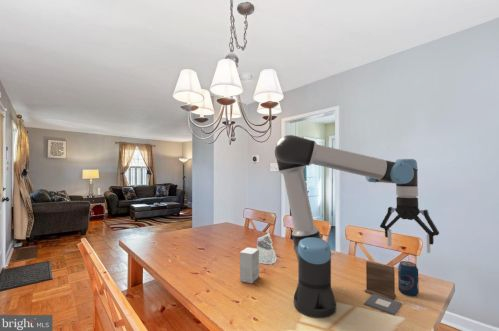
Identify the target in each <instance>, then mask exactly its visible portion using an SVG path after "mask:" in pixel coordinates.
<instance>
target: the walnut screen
mask: <svg viewBox="0 0 499 331" xmlns="http://www.w3.org/2000/svg"><path fill="white" fill-rule="evenodd" d="M365 262H366V263H365V265H366V266H365V267H366V268H365V272H366V276H365V277H366V278H365V279H366V280H365V281H366V283H365V284H366V289H365V290H364V293H365V294H369V295H370V296H371V295H372V294H376V295H379V296H382V297H385V298H389V299H392V300H395V299H396V297H397V294H396V292H395V291H396V290H395V288H396V286H395V285H396V283H395V282H396V281H395V280H396V279H395V266H390V265H387V264H382V263H379V262H375V261H374V262H373V261H370V260H367V261H365Z"/></svg>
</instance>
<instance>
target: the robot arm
mask: <svg viewBox="0 0 499 331" xmlns="http://www.w3.org/2000/svg"><path fill="white" fill-rule="evenodd" d="M274 157H275V159H276V163H277V168H278V172H279V173H280V174H282V175H283V179H284V185H285V190H286V195H287V200H288V205H289V209H290V213H291V218H292V220H291V221H292V224H293V231H292V232H291V236H292V237H291V238H292V241H293V249H294V253H295V255H296V259H297V264H298V265H297V266H298V267H297V269H298V281H297V286H296V289H295V292H294V295H293V306H294V308H295V309H296V310H297V311H298V312H299V313H301V314H303V315H306V316H309V317H313V318H327V317H331V316H334V315H335V313H336V312H337V300H336V298H335V295H334V292H333V289H332V251H331V250H332V249H331V245H330V244H329V242H328V241H327V240H324V239H322V238H321V233H320V229H319V228H318V227H316V226H315V222H314V218H313V213H312V207H311V203H310V198H309V192H308V188H307V183H306V180H305V175H304V170H305V168H306V167H307V166H311V165H315V166H319V167H322V168H323V167H325V168H329V169H331V170H332V169H333V170H336V171H341V172H345V173H348V174H349V173H350V174H354V175H358V176H363V177H365V180H366V182H369V183H384V184H385V183H386V184H395V192H396V193H395V194H396V198H395V199H396V207H393V206H389V207H387V213H386V215H385V216H384V218H383V220H382V221H381V223H380V225H379V228H381V229H383V230H384V237H385V238H387V246H388V247H391V246H392V245H393V244H392V229H391V227H393V225H395V224H396V222H398V220H400V219H402V220H409V221H413V220H414V221H415V222H416V223H417V224H418V225H419V227H421V229H423V230H424V231H425V232H426V233H427V235H426V253H427V254H430V253H431V245H434V237H435V236H439V234H440V231H439V229H437V226H436V225H435V223H434V221H433V220H432V218H431V216H430V212H429V210H428V209H420V208H419V198H418V196H419V188H418V184H419V183H418V181H419V180H418V177H419V176H418V161H417V160H416V159H414V158H404V159H403V158H401V159H399V158H398V159H396V160H395V161H392V160H386V159H383V158H378V157H374V156H371V155H370V156H368V155H366V154H361V153H356V152H351V151H346V150H343V149H338V148H335V147H330V146H325V145H321V144H317V142H316V140H311V139H309V138H308V139H307V138H304V137H301V136H297V135H294V134H293V135H292V134H288V135H285V136H283V137H281V138H279V140H278V141H277V143H276V145H275V149H274ZM394 212H396V213H397V215H396V216H395V217H394V218H393V219H392V220H391V221H390V222H389V223H388V224H387V222H388V221H389V219H390V218H391V216H392V214H393V213H394ZM419 214H421V215H422V216H424V218H425V221H426V222H427V224H426V223H425V222H424V221H422V219H421V218H420V217H419ZM386 224H387V225H386ZM427 225H428V226H429V227H430V228H429V227H428V226H427Z"/></svg>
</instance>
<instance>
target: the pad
mask: <svg viewBox="0 0 499 331" xmlns="http://www.w3.org/2000/svg"><path fill="white" fill-rule="evenodd" d="M363 305H365V306H367V307H370V308H372V309H375V310H378V311H380V312H384V313H386V314H389V315H392V316H396V314H397V312H398V311H399V309H400V308H401V306H402V305H403V303H402V302H401V301H397V300H395V299H394V300H392V299H389V298H385V297H382V296H379V295H376V294H372V295H371V294H370V296H369V297H368V298H367V300H366V301H365V302H364V304H363Z"/></svg>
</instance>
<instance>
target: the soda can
mask: <svg viewBox="0 0 499 331" xmlns="http://www.w3.org/2000/svg"><path fill="white" fill-rule="evenodd" d="M397 273H398V274H397V277H398V279H397V280H398V281H397V282H398V284H397V285H398V286H397V287H398V290H399V293H400V294H402V295H404V296H406V297H411V298H416V297H417V296H418V294H419V292H420V291H419V288H420V287H419V283H420V282H419V269H418V266H417V264H416V263H414V262H410V261H407V260H406V261H405V260H401V261H399V264H398V265H397Z"/></svg>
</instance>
